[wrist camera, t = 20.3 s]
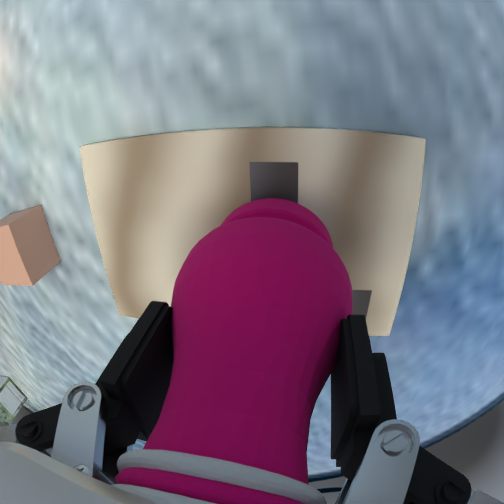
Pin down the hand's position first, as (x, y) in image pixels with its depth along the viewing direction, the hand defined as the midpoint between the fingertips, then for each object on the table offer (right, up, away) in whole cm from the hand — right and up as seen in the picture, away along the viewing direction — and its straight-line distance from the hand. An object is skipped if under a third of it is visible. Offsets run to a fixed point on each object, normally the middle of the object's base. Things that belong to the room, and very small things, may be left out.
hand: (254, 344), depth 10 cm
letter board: (-1, +4, +8) cm, 9 cm away
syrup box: (-45, -22, +30) cm, 58 cm away
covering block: (-19, +5, +11) cm, 22 cm away
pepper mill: (+1, +3, +6) cm, 7 cm away
